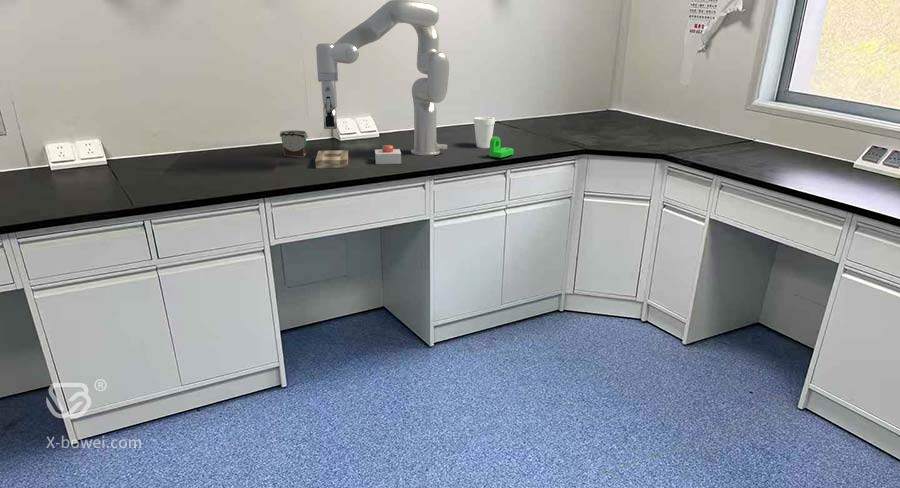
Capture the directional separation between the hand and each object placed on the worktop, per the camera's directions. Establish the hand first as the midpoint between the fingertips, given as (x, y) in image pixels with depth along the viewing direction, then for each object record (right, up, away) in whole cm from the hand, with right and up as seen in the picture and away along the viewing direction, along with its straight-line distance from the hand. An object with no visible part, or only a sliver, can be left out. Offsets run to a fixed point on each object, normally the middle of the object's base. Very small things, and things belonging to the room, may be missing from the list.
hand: (330, 125), depth 235 cm
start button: (+22, -9, +7) cm, 25 cm away
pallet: (0, -14, +5) cm, 15 cm away
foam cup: (+62, -2, +41) cm, 74 cm away
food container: (-17, -9, +19) cm, 27 cm away
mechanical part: (+70, -8, +25) cm, 74 cm away
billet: (0, -1, 0) cm, 1 cm away
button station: (+22, -13, +8) cm, 27 cm away
